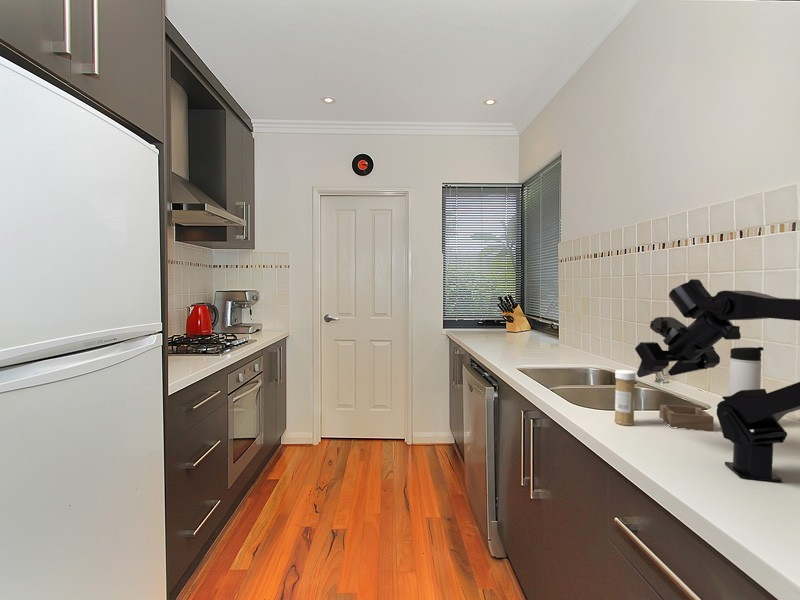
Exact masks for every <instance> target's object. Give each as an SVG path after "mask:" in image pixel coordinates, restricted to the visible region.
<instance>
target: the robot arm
mask: <svg viewBox="0 0 800 600" xmlns="http://www.w3.org/2000/svg"><path fill="white" fill-rule="evenodd" d="M668 297H669V299H670V300H671V302H672V303H673V305H674V306H676V308H677V309H678V312H680V314H681V315H682V317H684V318H686V319H690V318H691V319H692V320H694V321H692V322H691V323H690V325H688V326H687V325H685V324H684V323H682V322H681V321H680V320H678V319H677V318H675V317H671V316H658V317H655V318H654V319H653V320H650V325H649V327H650V330H652V331H653V332H654V333H656V334H659V335H661V337H663V338H664V339H663V340H662V342H664V344H665V345H666V346H667V349H666V350H663V349H662V347H661V346H660V344H659V343H658V342H656V341H641V342H640V343H638V344H637V345H636V346H635V348H634V350H635V352H636V354H637V355H638V357H640V360H641V361H640V364H639V367H638V370H637V372H636V376H637V377H638V378H639V379H640V378H644V377H647V376H650V375H653V374H658V373H660V372H663V370H665V369H667V368H668V367H669V366H670V365H669V363H670V362H672V363H673V362H674V365H672V366H671V367H670V369H669V370H668V371H667V372H668V373H667V374H668V375H669V376H671V377H672V376H673V377H674V376H677V375H681V374H687V373H691V372H697V371H702V370H707V369H712V368H715V367H716V366H717V365H719V364H720V362H721V357H720V355H719V354H718V353H717V351H716V350H715V347H714V345H715V344H717V343H718V342H719V341H721V339H724V340H728V341H729V340H731V341H732V340H734V341H735V340H741V332H740V328H741V326H739V325H734V324H733V323H732V322H731V321H751V320H754V321H755V320H765V319H766V320H767V319H774V320H776V319H777V320H784V321H785V320H788V321H798V322H800V298H789V297H788V298H787V297H785V298H783V297H778V296H777V297H776V296H772V295H769V294H767V293H762V292H756V291H752V290H720V291H718V292H717V293H716V294H715V295H714V296H712V295H711V294H710V292H709V291H708V290H707V289H706V288H705V286H704V285H703V283H702V281H701V280H700V279H698V278H695V279H693V278H691V279H689V281H688V282H685V283H682V284H680V285H678V286H677V287H674V288H672V289H671V290H670V292H669V294H668ZM722 399H723V400H722V401H719V403H718V404H716V407H717V408H716V417H717V419H718V423H719V425H720V429H721V432H722V436H723V438H724V439H726V440H728V441H730V442H731V443H733V447H732V448H733V452H732V453H733V454H732V461H724V465H725V467H727V468H728V469H730V470H731V471H732V472H733V473H734V474H736V475H737V476H738V477H740V478H742V479H751V480H761V481H767V482H768V481H770V482H778V483H779V482H780V483H782V481H783V479H782V478H781V477H780V476H778V475H777V473H774V472H773V461H774V460H773V458H774V444H777V443H779V444H783V443H784V442H785V440H786V438H787V436H788V433H787V431H786V430H785V429H784V428H783V426H782V425H781V424H780V423H779V421H780V420H781V419H782V418H783V417H784V416H786V415H788V414H789V413H793V412H797V411H799V410H800V381H797V382H795V383H793V384H790V385H786V386H784V387H782V388H779V389H776V390H773V391H769V392H767V391H766V389H765V388H760V389H753V390H741V391H738V392H736V393H735V394H733V395H732V396H729V395H726V396H724V395H723V396H722ZM752 430H753V431H752Z"/></svg>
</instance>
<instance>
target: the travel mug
mask: <svg viewBox="0 0 800 600" xmlns="http://www.w3.org/2000/svg"><path fill="white" fill-rule="evenodd" d="M763 351H764V347H763V346H759V347H752V346H751V347H747V346H746V347H733V348H730V356H729V359H730V360H729V374H728V375H729V376H728V378H729V379H728V396H732V395H733V394H735V393H736V392H738V391H741V390H753V389H761V381H762V380H761V376H762V374H761V373H762V352H763Z"/></svg>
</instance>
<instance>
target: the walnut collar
mask: <svg viewBox="0 0 800 600" xmlns="http://www.w3.org/2000/svg"><path fill="white" fill-rule="evenodd" d="M659 418H660V419H661V418H662V419H663V420H664V421H665V422H666V423H667V424H669V425H670V426H671V427H677V428H676V429H678V428H686V429H685V430H690V429H693V430H694V431H702V430H704V432H714V415H713V416H712V415H711V414H709V413H708V412H706V411H705V410H703V409H702V408H700V407H698V406H688V405H687V406H686V405H676V404H675V405H673V404H672V405H671V404H659ZM662 419H661V420H662ZM663 420H662V421H663ZM664 421H663V422H664ZM665 422H664V423H665ZM666 423H665V424H666ZM667 424H666V425H667ZM670 426H669V427H670ZM671 427H670V428H671ZM693 430H692V431H693Z"/></svg>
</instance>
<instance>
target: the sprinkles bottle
mask: <svg viewBox="0 0 800 600" xmlns="http://www.w3.org/2000/svg"><path fill="white" fill-rule="evenodd" d="M614 373H615V374H614V377H615V389H614V390H615V393H614V394H615V395H614V400H615V401H614V420H613V421H614V423H615V424H618V425H620V426H626V427H628V426H634V424H635V417H634V416H635V381H636V376H637V374H636V372H635V371H634V370H629V369H616V370H615V372H614Z"/></svg>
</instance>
